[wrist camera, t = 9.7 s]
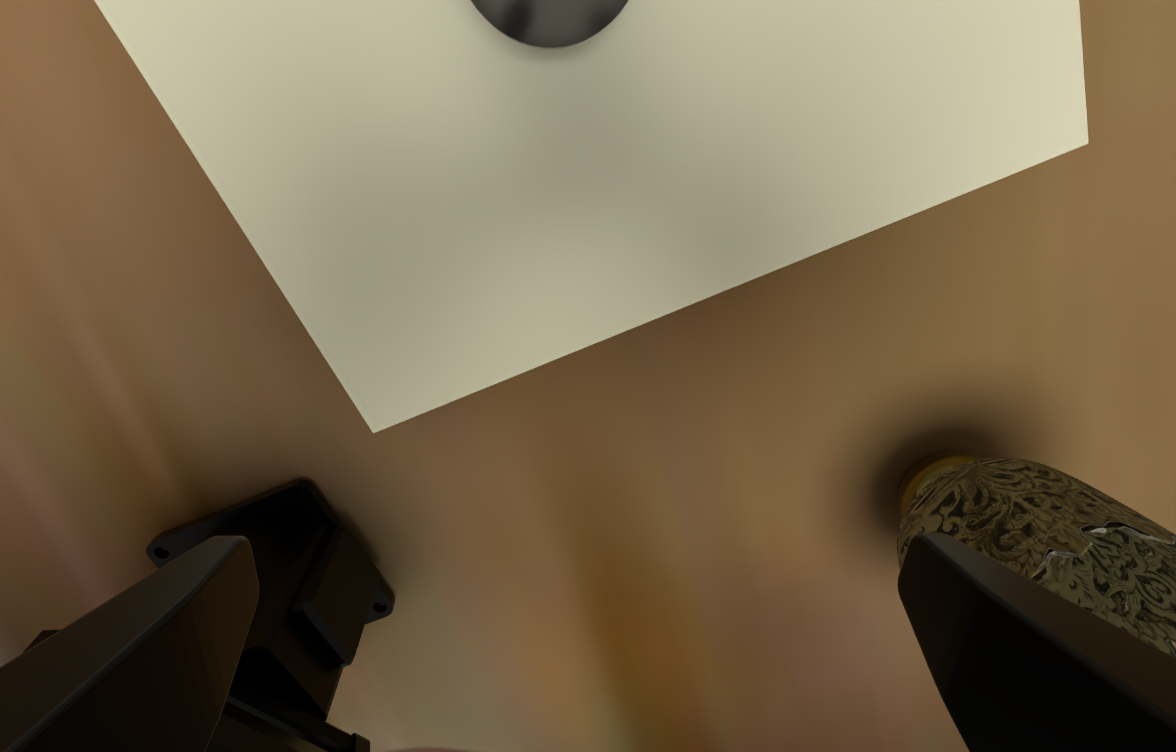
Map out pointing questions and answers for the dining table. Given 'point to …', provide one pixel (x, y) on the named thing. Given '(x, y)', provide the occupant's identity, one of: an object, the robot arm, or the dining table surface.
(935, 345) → the dining table surface
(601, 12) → the dark knobbed cylinder
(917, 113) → the dial plate
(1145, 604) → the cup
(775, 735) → the dining table surface
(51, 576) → the dining table surface
